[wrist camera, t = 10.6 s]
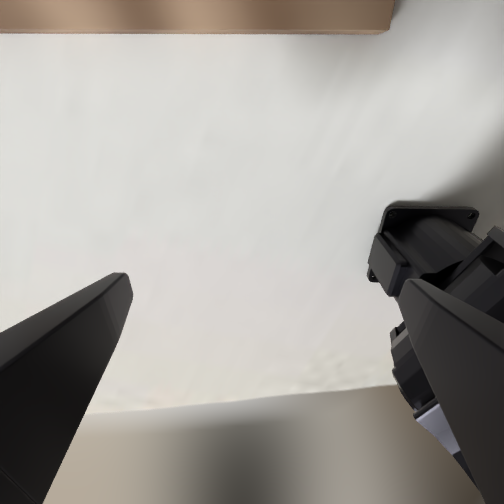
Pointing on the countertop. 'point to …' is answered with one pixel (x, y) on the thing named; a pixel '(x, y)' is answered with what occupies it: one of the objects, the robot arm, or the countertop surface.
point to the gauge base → (196, 16)
